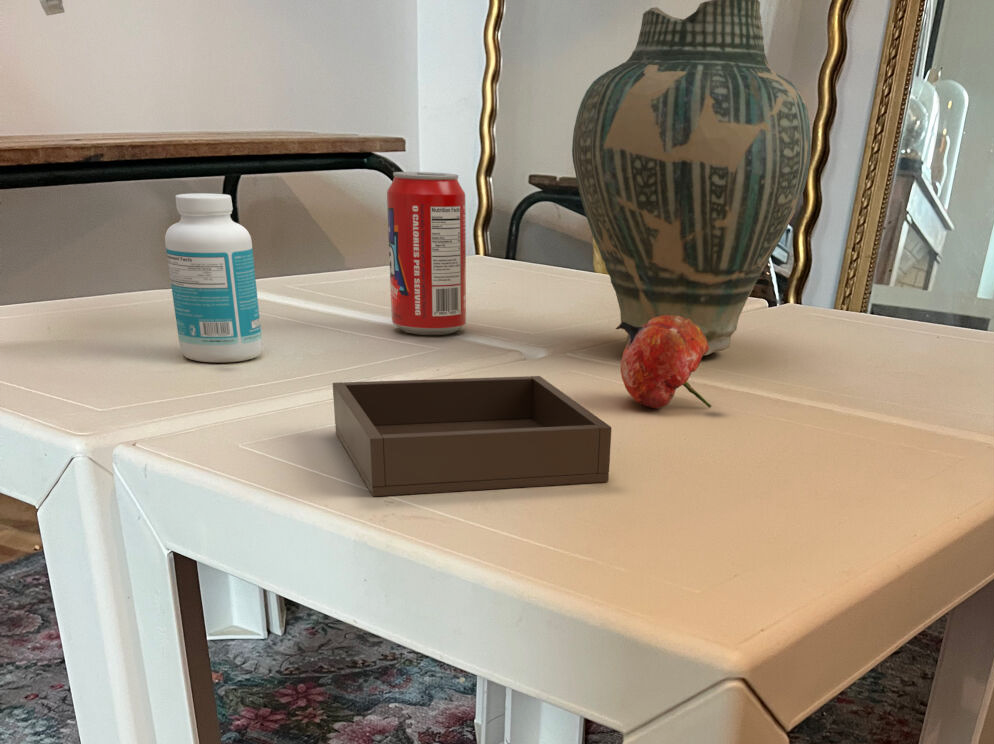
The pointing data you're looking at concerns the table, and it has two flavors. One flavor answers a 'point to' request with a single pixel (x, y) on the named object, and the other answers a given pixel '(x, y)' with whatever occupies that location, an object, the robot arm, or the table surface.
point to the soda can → (427, 252)
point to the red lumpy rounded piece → (661, 358)
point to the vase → (691, 166)
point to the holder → (468, 435)
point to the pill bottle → (213, 281)
